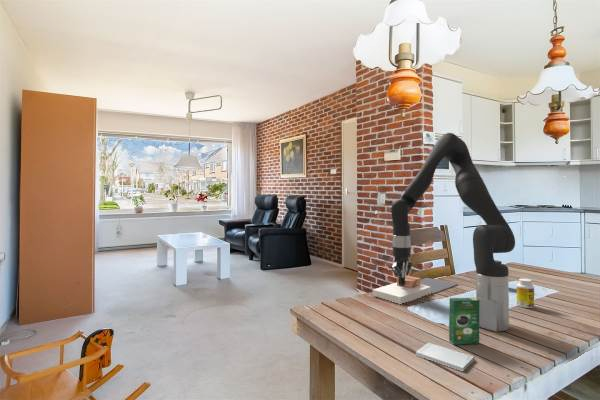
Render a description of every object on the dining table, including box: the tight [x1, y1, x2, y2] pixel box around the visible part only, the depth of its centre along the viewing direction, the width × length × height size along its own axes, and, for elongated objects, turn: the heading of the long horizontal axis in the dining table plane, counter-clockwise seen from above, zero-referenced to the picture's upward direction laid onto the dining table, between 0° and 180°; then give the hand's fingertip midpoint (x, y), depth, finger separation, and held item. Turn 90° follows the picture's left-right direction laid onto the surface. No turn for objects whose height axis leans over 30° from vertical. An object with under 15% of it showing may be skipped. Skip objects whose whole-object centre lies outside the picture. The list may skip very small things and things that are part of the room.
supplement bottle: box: [516, 278, 535, 309], centre depth 127 cm, size 6×6×10 cm
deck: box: [372, 282, 432, 305], centre depth 144 cm, size 22×14×3 cm, turn 128°
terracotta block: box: [396, 275, 421, 289], centre depth 148 cm, size 8×7×3 cm
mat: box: [420, 277, 459, 295], centre depth 157 cm, size 22×16×1 cm
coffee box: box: [448, 297, 480, 346], centre depth 98 cm, size 8×3×13 cm, turn 93°
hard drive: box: [415, 342, 476, 372], centre depth 89 cm, size 2×8×12 cm
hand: (401, 285), depth 144 cm, fingers closed
